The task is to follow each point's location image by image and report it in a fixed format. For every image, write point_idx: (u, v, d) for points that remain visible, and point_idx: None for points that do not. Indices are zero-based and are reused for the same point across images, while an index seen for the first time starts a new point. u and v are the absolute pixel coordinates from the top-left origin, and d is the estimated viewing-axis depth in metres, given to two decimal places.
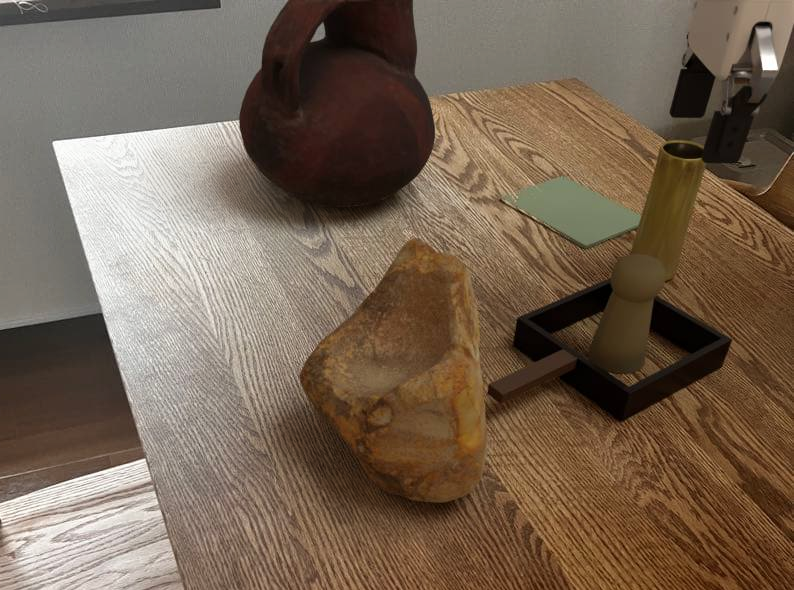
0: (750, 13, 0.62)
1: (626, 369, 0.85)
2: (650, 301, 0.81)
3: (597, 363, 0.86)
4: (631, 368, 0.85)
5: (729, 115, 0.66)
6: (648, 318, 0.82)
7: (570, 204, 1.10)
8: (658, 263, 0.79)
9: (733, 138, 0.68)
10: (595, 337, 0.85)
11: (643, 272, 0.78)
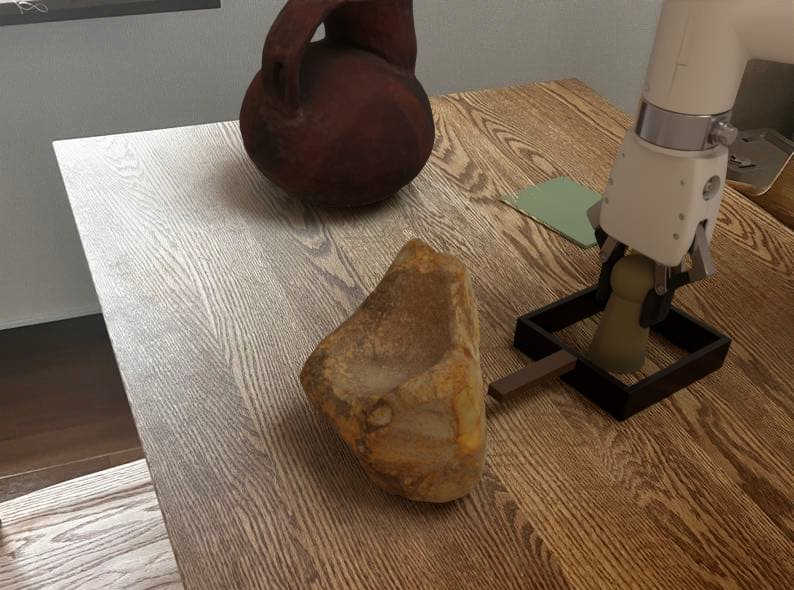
0: (695, 217, 0.71)
1: (626, 369, 0.85)
2: None
3: (597, 363, 0.86)
4: (631, 368, 0.85)
5: (664, 293, 0.78)
6: None
7: (570, 204, 1.10)
8: None
9: (666, 306, 0.79)
10: (595, 337, 0.85)
11: (643, 272, 0.78)
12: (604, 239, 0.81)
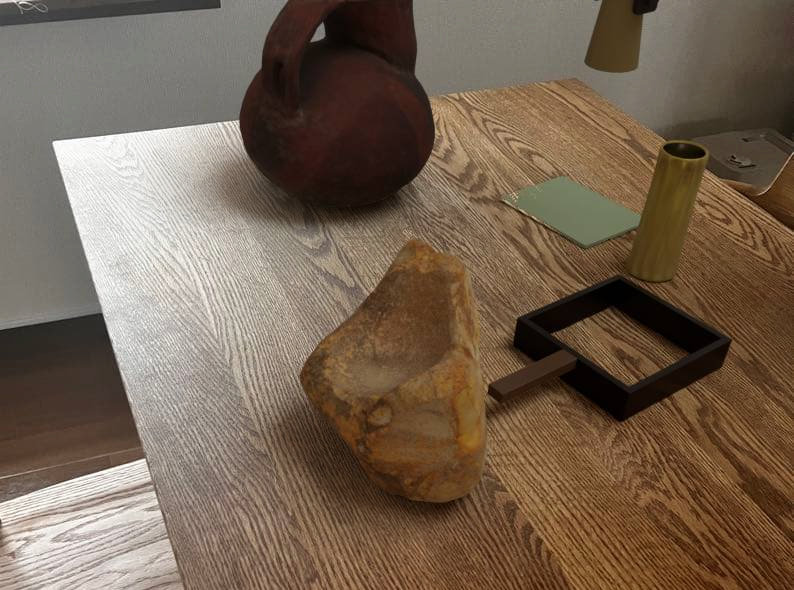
0: None
1: (620, 68, 0.90)
2: None
3: (593, 65, 0.91)
4: (625, 67, 0.90)
5: None
6: None
7: (570, 204, 1.10)
8: None
9: None
10: (591, 39, 0.91)
11: None
12: None
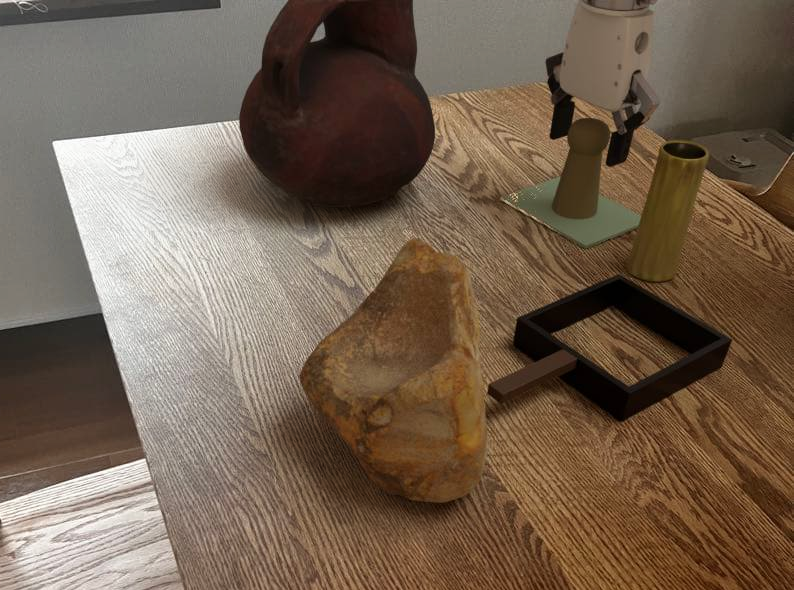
0: (630, 67, 0.92)
1: (581, 215, 1.07)
2: (598, 155, 1.02)
3: (558, 211, 1.07)
4: (585, 214, 1.07)
5: (624, 133, 0.97)
6: (597, 170, 1.04)
7: None
8: (604, 123, 1.01)
9: (626, 146, 0.99)
10: (557, 190, 1.07)
11: (591, 129, 1.00)
12: (555, 85, 1.02)
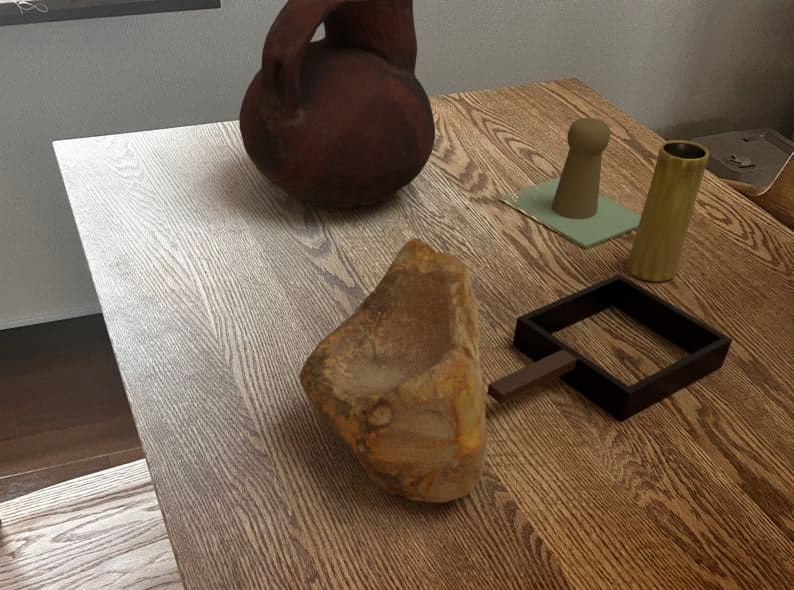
0: None
1: (581, 215, 1.07)
2: (598, 155, 1.02)
3: (558, 211, 1.07)
4: (585, 214, 1.07)
5: None
6: (597, 170, 1.04)
7: None
8: (604, 123, 1.01)
9: None
10: (557, 190, 1.07)
11: (591, 129, 1.00)
12: None
